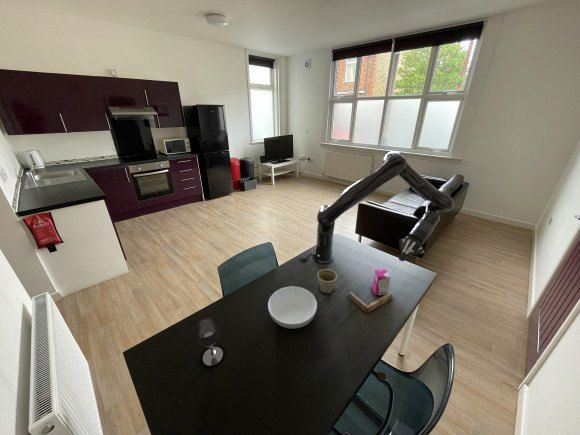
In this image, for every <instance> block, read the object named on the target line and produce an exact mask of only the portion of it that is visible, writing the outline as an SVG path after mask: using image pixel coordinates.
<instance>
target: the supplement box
mask: <svg viewBox="0 0 580 435" xmlns="http://www.w3.org/2000/svg"><path fill="white" fill-rule="evenodd" d="M390 280H391V275H390V273H389V270H388V269H376V268H375V269H374V274H373V280H372V285H371V287H372V291H373V295H374V296H375V297H383V296H385V295H387V294H389V293H388V292H389V287H390V282H391V281H390Z"/></svg>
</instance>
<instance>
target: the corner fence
mask: <svg viewBox="0 0 580 435" xmlns="http://www.w3.org/2000/svg"><path fill="white" fill-rule="evenodd" d="M392 297H393V293H392V292H389V293H387V295H385V296H381V297H380V298H378V299H376V300H375V301H373V302H371V303H370V304H366V302H365V301H363V300H361V298H360V297H358V296H357V295H356V294H354V293H353V292H350V293H349V298H348V299H350V300H351V301H352V302H353V303H354V304H355V305H357V307H359V309H361V310H362V311H363V312H364V313H366V314H368V313H370V312H371V311H374V310H375V309H377V308H378V307H380V306H382V305H383V304H385V303H387V302H388V301H390V300H391V299H392Z"/></svg>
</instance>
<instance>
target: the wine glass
mask: <svg viewBox="0 0 580 435" xmlns="http://www.w3.org/2000/svg"><path fill="white" fill-rule="evenodd" d="M193 331H194V336H195V339H196V340H197V342H198V344H199V345H200V346H201V347H205V348H209V349H207V350H206V351H205V352H204V354H203V356H202V362H203V364H204V365H206V366H209V367H211V366H215V365H217V364H218V363H220V361H221V360H222V359H223V356H224V351H223V350H222V348H221V347H218V346H214V345H215V344H216V343H217V342H218V341H219V338H220V332H221V331H220V324H219V321H218V319H217V318H214V317H206V318H203V319H201V320H199V321H198V322H197V323H196V324H195V327H194V330H193Z"/></svg>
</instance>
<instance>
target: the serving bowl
mask: <svg viewBox="0 0 580 435" xmlns="http://www.w3.org/2000/svg"><path fill="white" fill-rule="evenodd" d="M317 309H318V302H317V298H316V297H315V295H314V294H313V293H312V292H311V291H310V290H307V289H306V288H304V287H302V286H301V287H300V286H295V285H294V286H293V285H291V286H285V287H282V288H279V289H278V290H275V291H274V292H273V293H272V294H271V296H270V297H269V299H268V301H267V310H268V313H269V315H270V317H271V319H272V320H273V321H274V323H276V324H277V325H278V326H280V327H283V328H285V329H292V330H293V329H300V328H302V327H305V326H307V325H308V324H309V323H310V322H311V321H312V320H313V319H314V317H315V316H316V313H317Z"/></svg>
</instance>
